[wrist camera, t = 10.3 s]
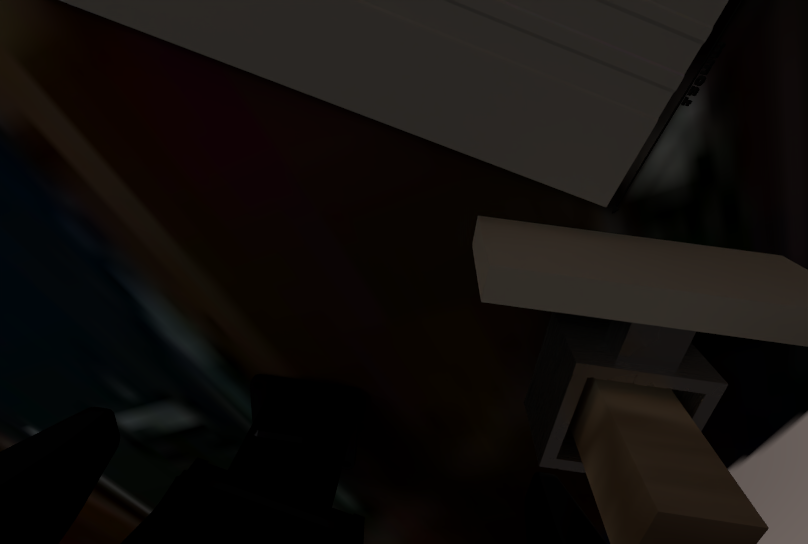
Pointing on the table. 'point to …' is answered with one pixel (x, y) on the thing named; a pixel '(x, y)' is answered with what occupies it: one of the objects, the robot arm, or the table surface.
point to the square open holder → (610, 376)
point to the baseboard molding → (467, 69)
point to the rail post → (657, 470)
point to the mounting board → (641, 280)
